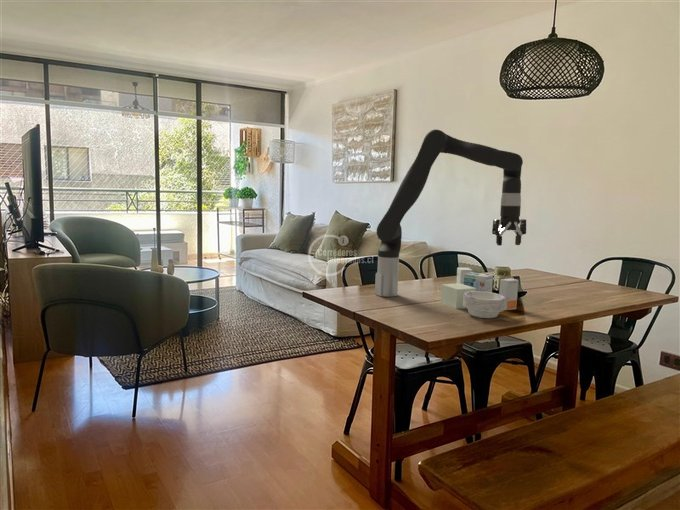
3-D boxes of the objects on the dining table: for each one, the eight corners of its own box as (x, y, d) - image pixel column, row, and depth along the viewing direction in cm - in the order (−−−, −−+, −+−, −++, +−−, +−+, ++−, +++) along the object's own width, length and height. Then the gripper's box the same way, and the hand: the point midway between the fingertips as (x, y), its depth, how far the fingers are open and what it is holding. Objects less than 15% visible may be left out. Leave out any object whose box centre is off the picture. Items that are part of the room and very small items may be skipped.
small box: (471, 292, 228) (473, 270, 226) (459, 292, 228) (460, 269, 227) (467, 289, 236) (468, 267, 234) (456, 288, 236) (457, 267, 235)
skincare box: (505, 310, 194) (507, 280, 192) (497, 308, 198) (499, 279, 196) (516, 309, 197) (519, 279, 195) (508, 307, 200) (510, 278, 199)
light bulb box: (462, 297, 217) (463, 273, 215) (469, 295, 222) (471, 271, 220) (484, 301, 210) (486, 276, 208) (492, 299, 215) (493, 274, 213)
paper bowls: (512, 320, 180) (513, 298, 179) (474, 321, 177) (475, 299, 176) (491, 309, 195) (492, 290, 194) (455, 311, 192) (456, 291, 190)
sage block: (456, 309, 195) (457, 289, 194) (440, 303, 205) (441, 284, 204) (474, 307, 198) (476, 288, 197) (458, 301, 208) (460, 283, 207)
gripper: (500, 204, 190) (498, 246, 192) (532, 205, 194) (529, 245, 196) (489, 204, 197) (487, 244, 199) (519, 204, 201) (517, 243, 204)
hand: (508, 245), depth 198 cm, fingers open, 8 cm apart
